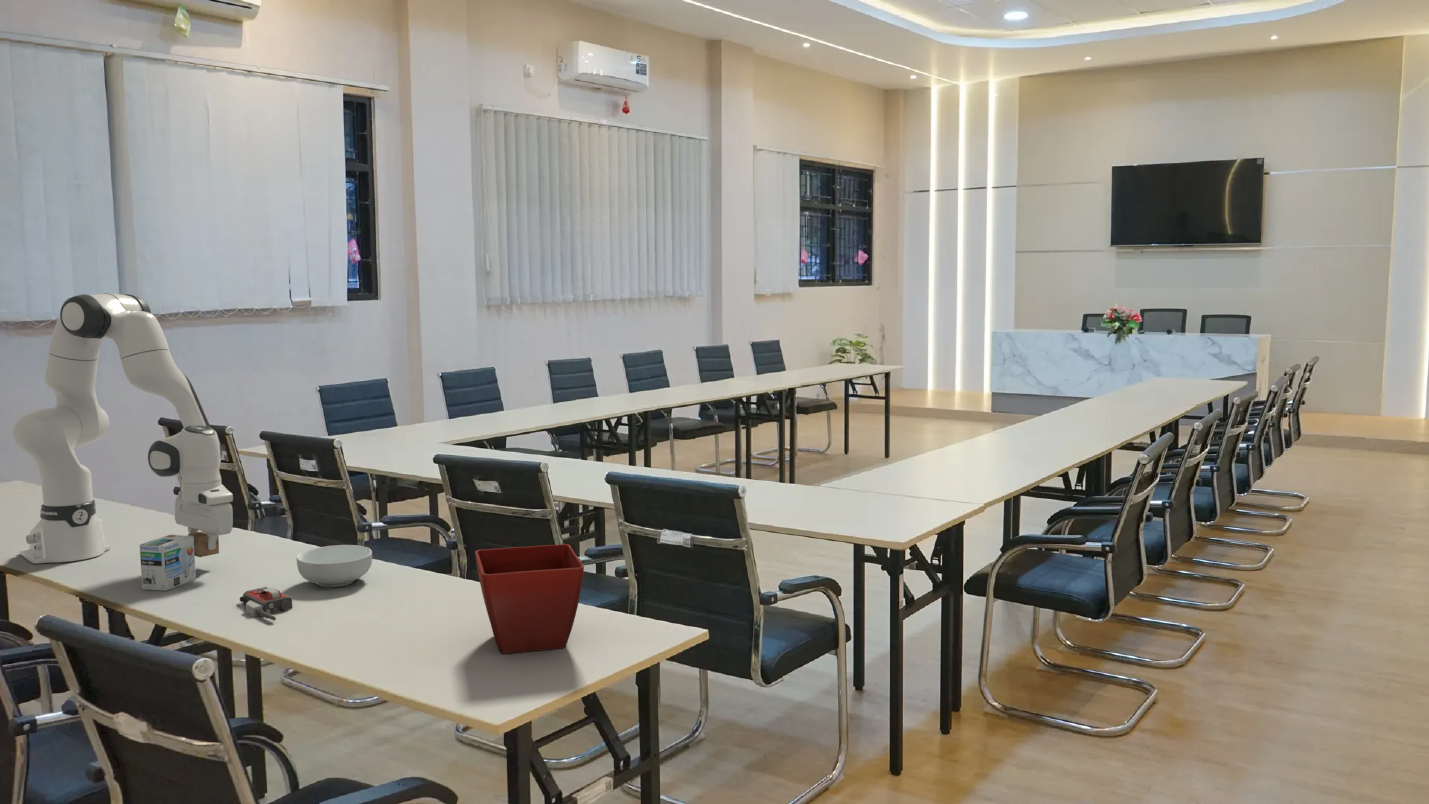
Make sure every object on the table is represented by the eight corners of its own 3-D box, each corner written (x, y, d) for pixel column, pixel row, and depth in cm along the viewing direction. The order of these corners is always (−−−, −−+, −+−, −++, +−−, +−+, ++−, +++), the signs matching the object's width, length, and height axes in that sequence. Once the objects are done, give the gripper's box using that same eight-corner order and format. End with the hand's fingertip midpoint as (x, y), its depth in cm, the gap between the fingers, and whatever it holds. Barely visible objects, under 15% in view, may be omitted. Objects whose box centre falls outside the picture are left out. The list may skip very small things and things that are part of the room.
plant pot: (586, 652, 207) (585, 566, 205) (484, 662, 202) (482, 574, 200) (570, 622, 225) (569, 543, 224) (476, 631, 220) (474, 549, 218)
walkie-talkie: (230, 606, 239) (269, 626, 225) (229, 587, 238) (268, 605, 224) (269, 598, 245) (310, 617, 231) (268, 579, 244) (309, 597, 230)
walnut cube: (188, 553, 268) (187, 534, 267) (207, 550, 272) (207, 530, 271) (199, 557, 265) (198, 537, 264) (219, 553, 269) (218, 533, 268)
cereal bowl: (281, 587, 252) (280, 557, 252) (335, 570, 267) (333, 542, 266) (336, 596, 245) (335, 565, 244) (388, 578, 260) (387, 549, 259)
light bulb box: (166, 591, 249) (163, 545, 248) (140, 590, 250) (137, 544, 249) (197, 579, 259) (194, 535, 258) (172, 577, 261) (169, 533, 260)
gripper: (166, 488, 270) (168, 542, 272) (212, 499, 258) (214, 556, 260) (191, 484, 275) (192, 538, 277) (237, 495, 264) (238, 551, 265)
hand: (203, 547), depth 268 cm, fingers closed on walnut cube, 5 cm apart
